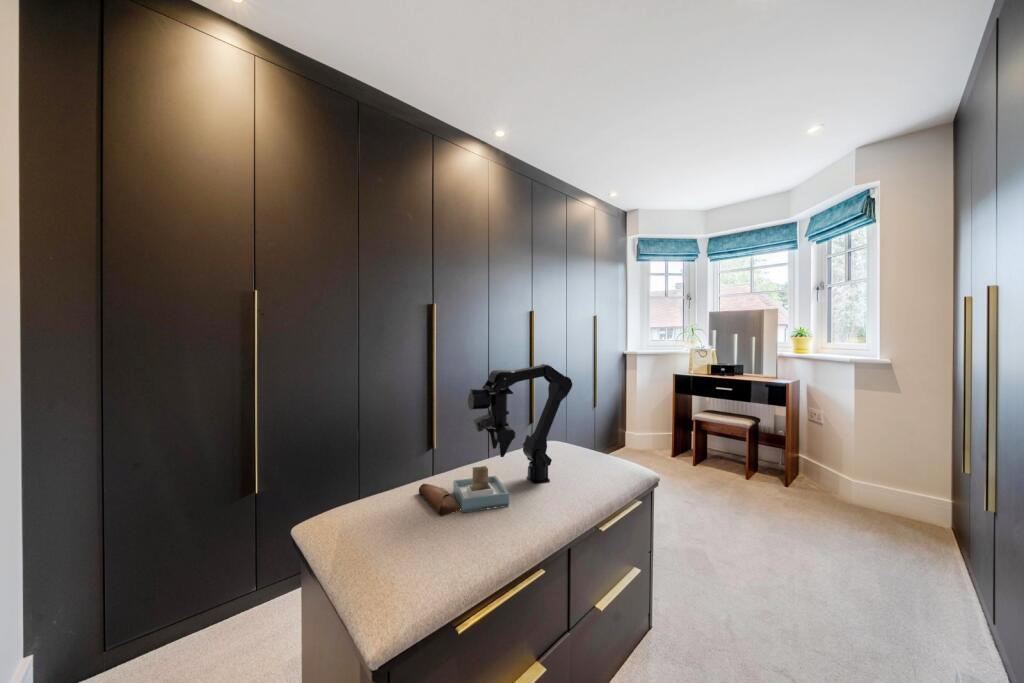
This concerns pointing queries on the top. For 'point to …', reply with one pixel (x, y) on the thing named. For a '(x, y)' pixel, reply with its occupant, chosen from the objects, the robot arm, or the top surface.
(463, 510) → the candle dish
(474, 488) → the brown wooden block
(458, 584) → the top surface
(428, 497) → the sunglasses case
